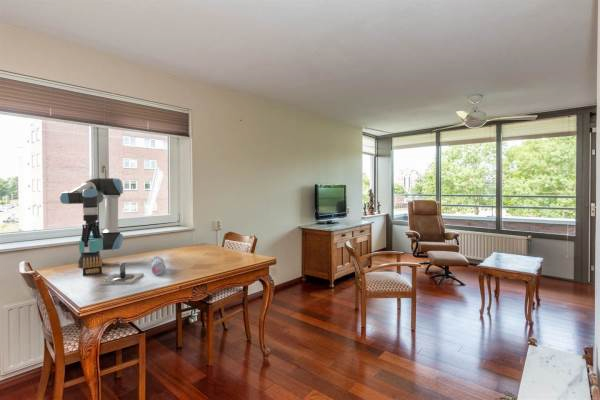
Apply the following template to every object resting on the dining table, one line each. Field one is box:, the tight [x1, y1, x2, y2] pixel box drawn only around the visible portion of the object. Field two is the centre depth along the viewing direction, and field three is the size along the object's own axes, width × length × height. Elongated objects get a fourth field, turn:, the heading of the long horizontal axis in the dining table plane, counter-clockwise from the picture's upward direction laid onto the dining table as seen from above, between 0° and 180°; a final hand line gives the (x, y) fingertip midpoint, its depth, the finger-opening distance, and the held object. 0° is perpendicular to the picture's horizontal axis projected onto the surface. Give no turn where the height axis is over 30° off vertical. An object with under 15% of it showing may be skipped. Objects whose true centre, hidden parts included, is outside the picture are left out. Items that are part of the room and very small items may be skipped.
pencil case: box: [150, 256, 167, 276], centre depth 211 cm, size 21×9×10 cm, turn 28°
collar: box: [78, 238, 103, 254], centre depth 191 cm, size 9×9×7 cm
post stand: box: [99, 262, 144, 286], centre depth 193 cm, size 18×18×10 cm
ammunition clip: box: [82, 255, 103, 277], centre depth 204 cm, size 11×2×12 cm, turn 123°
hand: (91, 250), depth 191 cm, fingers closed on collar, 9 cm apart
